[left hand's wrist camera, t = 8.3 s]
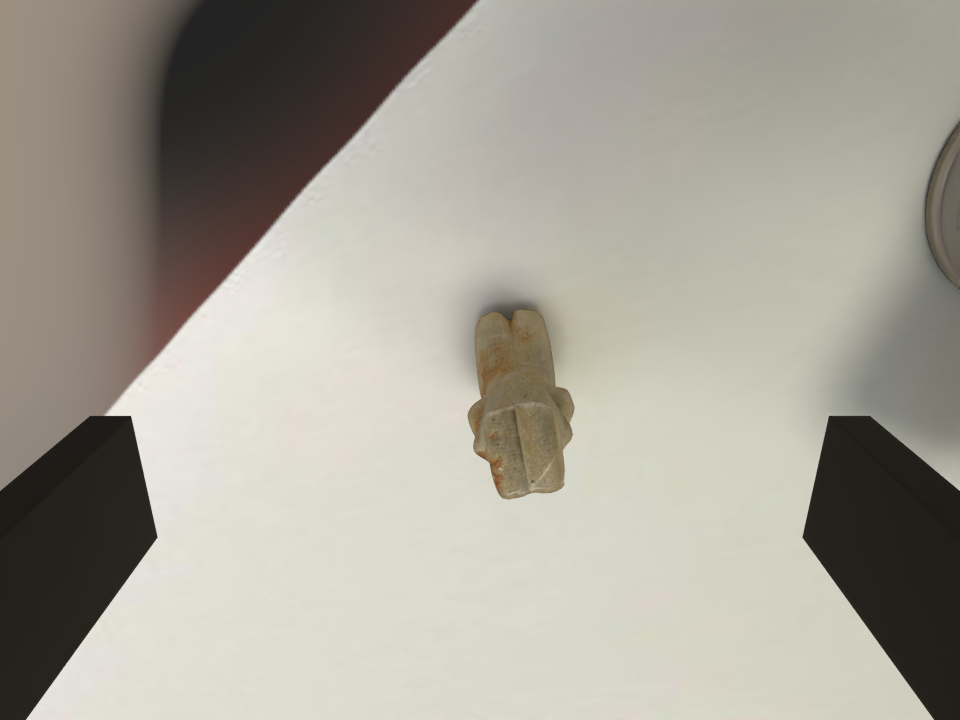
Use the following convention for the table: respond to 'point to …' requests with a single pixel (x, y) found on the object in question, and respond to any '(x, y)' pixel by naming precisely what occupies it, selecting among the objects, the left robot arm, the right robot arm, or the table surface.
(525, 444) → the sculpture
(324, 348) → the table surface
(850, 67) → the table surface
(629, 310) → the table surface
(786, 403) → the table surface
